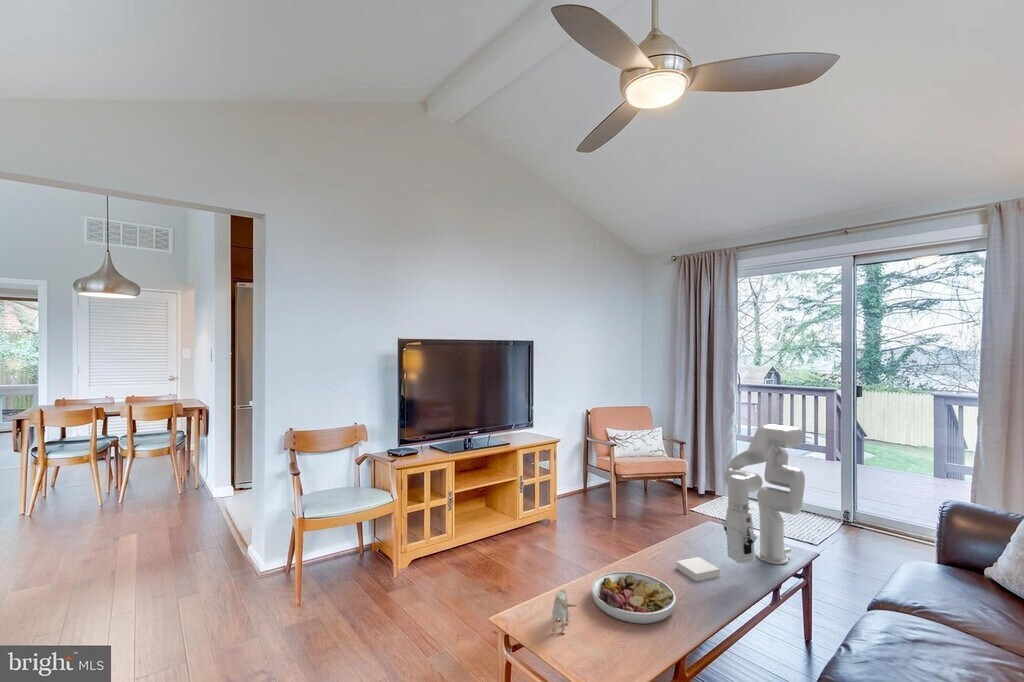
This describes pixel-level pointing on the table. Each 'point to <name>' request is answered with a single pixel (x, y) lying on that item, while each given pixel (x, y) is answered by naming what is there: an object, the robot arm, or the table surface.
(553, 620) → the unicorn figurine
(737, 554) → the supplement box
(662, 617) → the bowl
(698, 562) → the plinth
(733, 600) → the table surface
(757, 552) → the robot arm
